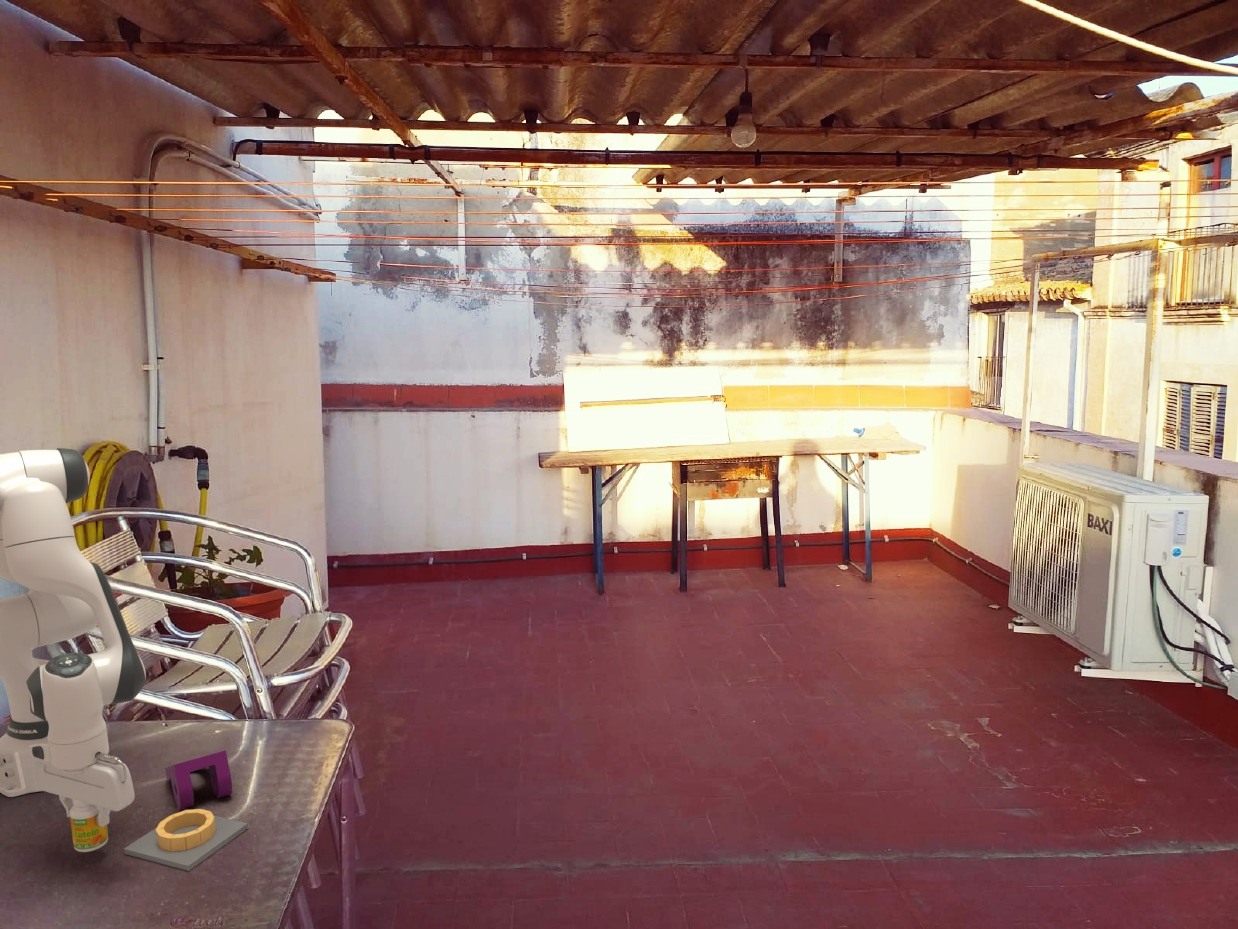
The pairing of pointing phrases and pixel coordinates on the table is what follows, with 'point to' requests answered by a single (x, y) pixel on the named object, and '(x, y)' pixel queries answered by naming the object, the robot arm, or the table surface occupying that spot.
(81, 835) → the supplement bottle
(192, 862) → the plate
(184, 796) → the mounting bracket
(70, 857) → the table surface
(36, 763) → the robot arm
